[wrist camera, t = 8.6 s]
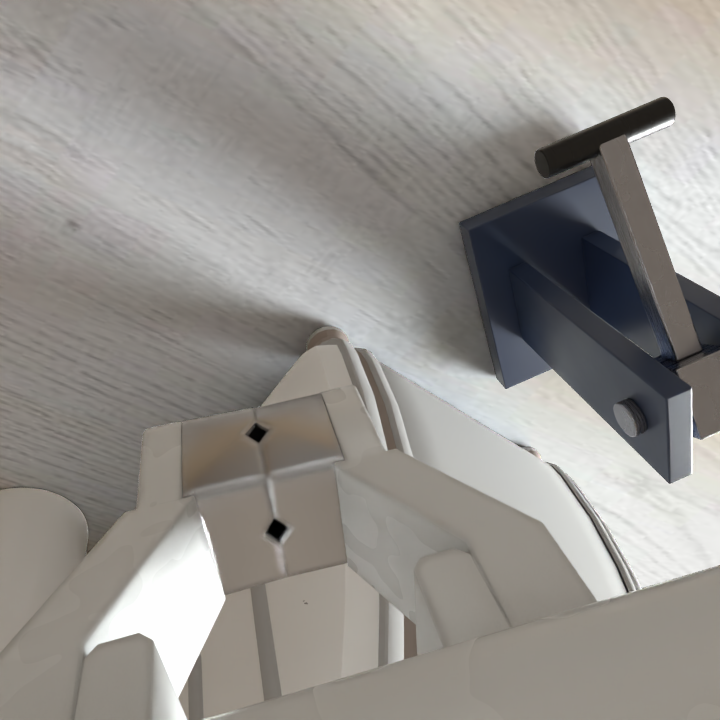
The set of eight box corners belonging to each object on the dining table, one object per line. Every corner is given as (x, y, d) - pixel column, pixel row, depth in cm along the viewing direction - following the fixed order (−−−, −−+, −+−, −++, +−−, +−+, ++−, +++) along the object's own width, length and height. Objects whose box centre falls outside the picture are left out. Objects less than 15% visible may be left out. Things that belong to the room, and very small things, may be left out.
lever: (524, 158, 23) (549, 141, 20) (642, 108, 23) (681, 85, 21) (631, 441, 24) (667, 455, 22) (742, 391, 24) (789, 400, 22)
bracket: (458, 222, 29) (620, 351, 18) (607, 158, 29) (851, 249, 19) (496, 378, 35) (637, 546, 24) (621, 323, 35) (815, 465, 24)
